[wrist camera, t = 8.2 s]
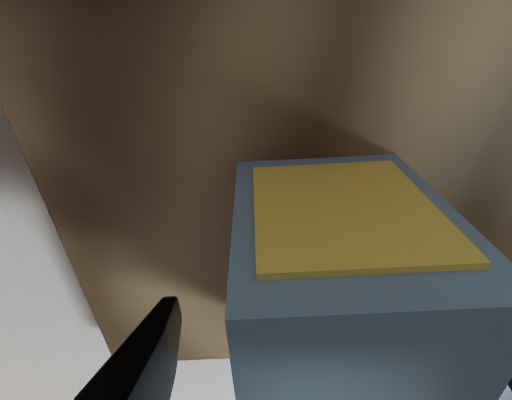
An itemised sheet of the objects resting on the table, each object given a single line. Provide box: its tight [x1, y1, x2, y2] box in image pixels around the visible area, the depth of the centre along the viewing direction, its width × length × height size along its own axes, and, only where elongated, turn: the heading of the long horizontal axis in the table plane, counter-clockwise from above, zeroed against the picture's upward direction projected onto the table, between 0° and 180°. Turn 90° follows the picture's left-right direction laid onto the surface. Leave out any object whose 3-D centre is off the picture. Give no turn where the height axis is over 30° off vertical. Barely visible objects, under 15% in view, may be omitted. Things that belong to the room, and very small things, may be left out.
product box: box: [225, 154, 512, 400], centre depth 9 cm, size 7×5×6 cm
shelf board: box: [0, 0, 512, 360], centre depth 11 cm, size 18×16×2 cm
